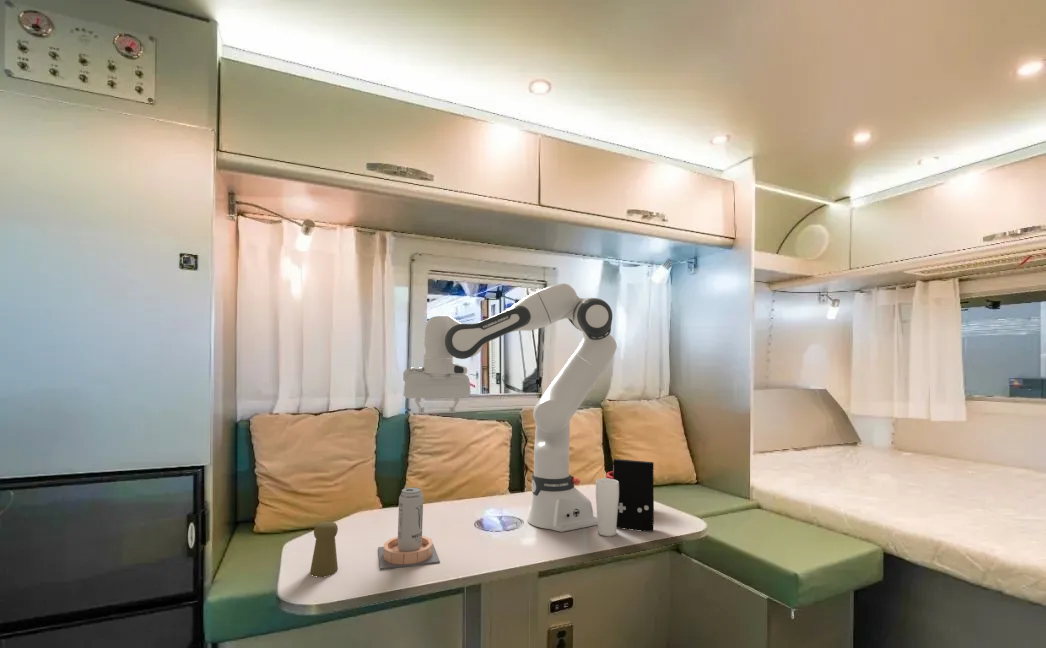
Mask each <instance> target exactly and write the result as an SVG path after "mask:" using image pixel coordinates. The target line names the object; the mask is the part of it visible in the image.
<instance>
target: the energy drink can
mask: <svg viewBox="0 0 1046 648" xmlns="http://www.w3.org/2000/svg"><path fill="white" fill-rule="evenodd" d="M423 513H424V494H423V493H422V489H421V487H414V486H413V487H412V486H411V487H410V486H409V487H404V488H403V489H401V493H400V494H399V497H398V515H397V516H398V519H397V520H398V522H397V525H398V526H397V537H398V545H397V548H398V549H399V551H400V552H410V551H417V550H419V549H420V548H421V547H422V536H423V523H424V522H423V520H424V519H423Z"/></svg>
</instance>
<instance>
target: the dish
mask: <svg viewBox="0 0 1046 648" xmlns="http://www.w3.org/2000/svg"><path fill="white" fill-rule="evenodd" d="M397 545H398V536H395V537H392V538H389V539H388V540H387V541H385V542H384V543H383V546H378V548H377V549H378V558H379V561H378V562H379V569H380V571H382V569H383V570H384V569H385V570H391V569H392V568H393V569H399V567H401V568H407V567H408V566H409V567H415V566H416V565H418V566H425V565H426V566H427V565H434V564H440V561H441V560H440V558H439V556H438V553H437V550H436V548H435V544H434V542H433V540H432V538H430V537H427V536H425V535H422V547H421V548H420V549H419V550H417V551H410V552H400V551H399V549H398V548H397ZM393 569H392V570H393Z"/></svg>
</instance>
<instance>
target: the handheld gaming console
mask: <svg viewBox="0 0 1046 648" xmlns="http://www.w3.org/2000/svg"><path fill="white" fill-rule="evenodd" d="M612 467H613V468H612V471H613V479H614V480H617V481H619V503H618V515H617V528H619V529H622V528H625V529H624V530H629V529H633V530H632V531H637V530H641V531H640V532H654V519H655V517H654V516H655V513H654V511H655V509H654V507H655V505H654V504H655V503H654V502H655V500H654V494H655V493H654V492H655V491H654V489H655V487H654V483H655V482H654V477H655V472H654V470H655V469H654V468H655V467H654V462H653V461H644V460H643V461H641V460H633V459H632V460H631V459H630V460H629V459H621V458H620V459H618V458H614V459H613V465H612Z"/></svg>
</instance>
